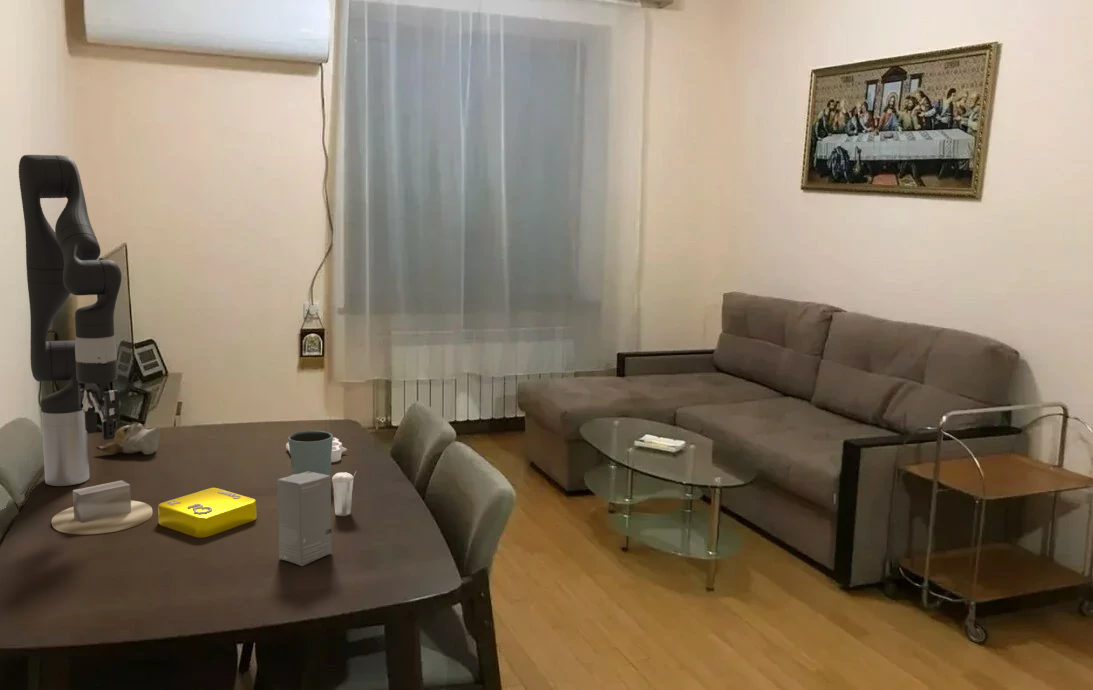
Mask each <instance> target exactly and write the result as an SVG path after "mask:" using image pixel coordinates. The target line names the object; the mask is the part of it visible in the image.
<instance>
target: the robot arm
mask: <svg viewBox="0 0 1093 690" xmlns="http://www.w3.org/2000/svg"><path fill="white" fill-rule="evenodd" d="M75 162H76V161H74V160H73V158H71V156H67V155H60V154H59V155H58V154H55V155H53V154H52V155H51V154H50V155H49V154H25V155H22V156H21V158H20V159H19V163H18V181H19V189H20V197H21V203H22V210H23V212H22V213H23V220H24V229H25V230H24V231H25V260H26V261H25V263H26V264H25V265H26V281H27V289H28V290H27V292H28V299H29V300H28V301H29V311H30V313H29V314H30V368H31V369H30V370H31V373H32V377H33V378H34V380H35V381H36V382H38V383H39V382H42V383H43V382H45V383H46V382H47V383H48V382H61V381H62V382H63V381H69V382H68V384H67V385H65V386H64V387H63V388H62V389H60V390H58V391H54V392H53V393H49V394H47V395H45V396H43V397H42V399H41V400H40V412H41V414H40V415H41V427H42V428H41V429H42V431H41V432H42V445H43V447H42V448H43V463H44V464H43V465H44V466H43V467H44V468H43V469H44V483H45V484H46V485H49V486H52V487H54V486H55V487H66V486H73V485H74V486H75V485H78V484H83V483H85V482H87V481H88V480H89V479H90V461H89V459H90V457H89V445H88V444H89V443H88V442H89V441H88V440H89V439H88V433H89V432H95V431H97V430H98V416H97V414H99V417H100V420H101V434H102V439H103V440H105V441H107V440H108V441H109V440H114V438H115V433H116V432H115V431H116V430H115V421H116V420H120V417H121V415H120V403H119V401H120V399H119V392H118V389H114V390H111V386H110V383H111V382H114V381H116V380H117V379H118V362H117V361H118V358H117V355H118V354H117V344H116V338H115V323H114V321H115V320H114V318H115V309H116V303H117V299H118V296H119V292H120V288H121V284H122V279H123V278H122V271H121V268H120V266H119V265H118V263H116V261H114V260H111V259H99V258H100V256H101V246H100V243H99V241H98V239H97V236H96V234H95V232H94V229H93V227H92V224H91V222H90V218H89V213H88V207H87V203H86V198H85V193H84V189H83V184H82V179H81V175H80V172H79V169H78V167H77V164H76V163H75ZM65 198H66V199H67V202H66V204H65V206H64V208H63V209H62V211H61V213H60V214H59V217H58V218H57V220H56V223H55V226H54V227H55V228H54V229H53V227H52V226H51V224H50V222H49V221H48V219H47V218H46V216H45V214H44V211H43V208H42V204H41V199H65ZM70 295H74V296H97V295H99V297H98V299H97V301H96V302H94V303H92V304H89V305H86V306H83V307H79V308H77V309H76V310H75V313H74V323H75V324H74V327H75V340H73V339H70V340H69V339H68V340H66V339H65V340H48V341H47V336H48V333H49V330H50V327H51V325H52V324H53V321H54V319H55V317H56V316H57V314H58V313H59V311H60V310H61V309H62V307H63V306H64V304H65V303H66V301H68V299H69V298H70Z"/></svg>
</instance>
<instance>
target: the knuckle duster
mask: <svg viewBox="0 0 1093 690" xmlns="http://www.w3.org/2000/svg"><path fill="white" fill-rule="evenodd" d="M285 448H286V450H288V452H289V453H290V448H289V441H288V442H287V443H286V444H285ZM347 450H348V449H347V448H346V447H343V443H342V442H340V439H339V438H337V437H333V440H332V453H331V463H335V462H336V463H337V462H339V461H341V460H342V455H343V453H344V452H346V451H347Z"/></svg>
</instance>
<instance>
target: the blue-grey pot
mask: <svg viewBox="0 0 1093 690" xmlns="http://www.w3.org/2000/svg"><path fill="white" fill-rule="evenodd" d="M333 438H334V436H333V433H331V432H328V431H325V430H304V431H299V432H295V433H292V434H290V435H289V436H288V438H287V439H288V442H289V448H290V452H289V454H290V463H291V464H290V465H291V469H292V472H291V473H292V474H291V475H293V474H300V473H304V472H308V471H310V472H315V473H319V474H325V475H329V476H331V474H332V473H331V472H332V471H331V468H332V462H331V453H332V440H333ZM331 477H332V476H331Z"/></svg>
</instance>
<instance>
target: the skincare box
mask: <svg viewBox="0 0 1093 690" xmlns="http://www.w3.org/2000/svg"><path fill="white" fill-rule="evenodd" d="M331 483H332V476H329V475H325V474H319V473H315V472H310V471H308V472H304V473H300V474H291V475H289V476H285V477H280V478H278V479H277V480H276V488H277V489H276V490H277V493H276V494H277V523H278V524H277V528H278V532H277V533H278V558H279V560H283V561H286V562H289V563H291V564H296V565H297V566H301V567H303V566H306V565H308V564H310V563H312V562H314V561H318V560H319V559H321V558H324V557H326V556H329V555H331V554H332V553H333V548H332V545H333V544H332V543H333V541H332V540H333V539H332V537H333V536H332V491H331V490H332V485H331Z"/></svg>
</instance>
